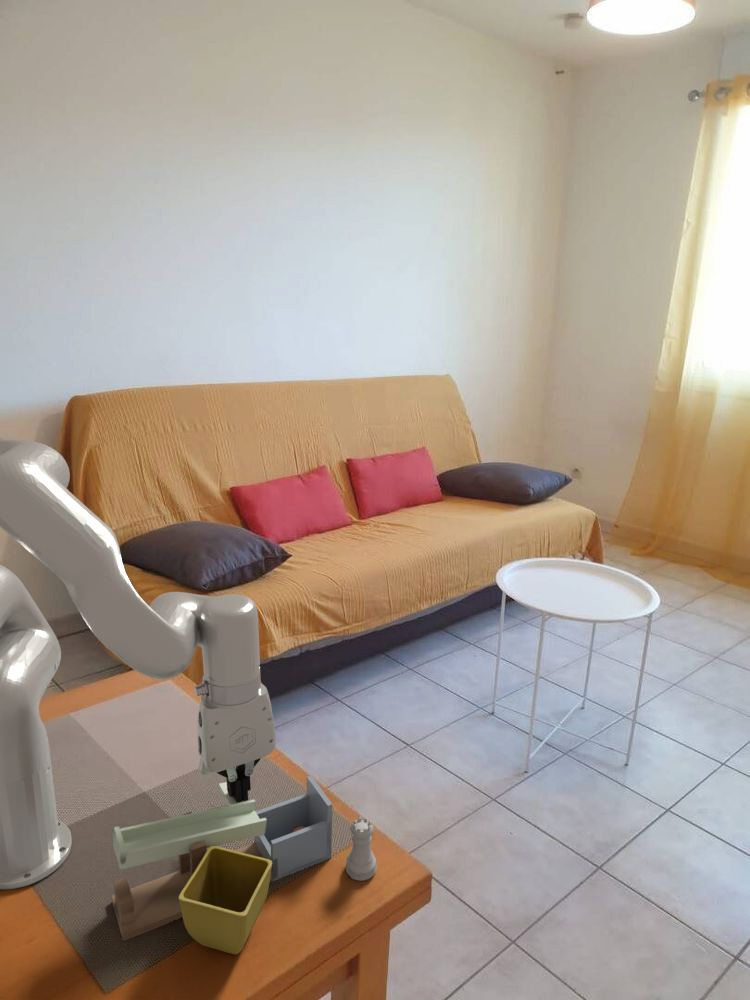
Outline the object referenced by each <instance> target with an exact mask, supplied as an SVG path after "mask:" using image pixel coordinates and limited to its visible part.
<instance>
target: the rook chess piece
mask: <svg viewBox="0 0 750 1000" xmlns="http://www.w3.org/2000/svg"><path fill="white" fill-rule="evenodd" d="M350 832H351V834H352V836H351V840H352V849H351V850H350V852H349V854H348V856H347V858H346V860H345V861H346V862H345V871H346V874H347V875H348V876H349V877H350V878H351V879H353V880H355V881H357V882H358V881H359V882H361V881H362V882H364V881H368V880H369V879H371V878H373V876H375V874H376V873H377V869H378V867H377V859H376V857H375V854H374V852H373V851H372V846H371V845H372V844H371V843H372V841H373V837H372V835H373V834H374V832H375V828H374V825H373V823H372V820H369V819H368V817H364V818H363V819H362V817H358V818H357V819H354V821H353V824H352V825H351V826H350Z"/></svg>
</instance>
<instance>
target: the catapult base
mask: <svg viewBox="0 0 750 1000" xmlns="http://www.w3.org/2000/svg"><path fill="white" fill-rule="evenodd" d="M190 813H193V812H192V811H190V812H186V813H183V814H182V815H185V814H190ZM189 848H190V853H186V854H182V855H178V865H179V870H177V871H174V872H172V873H169V874H167V875H163V876H162V877H159V878H156V879H152V880H150V881H148V882H145V883H142V884H139V885H137V886H134V887H132V888H130V885H129V881H128V879H127V877H123V878H121V879H118V880H115V881H113V890H114V891H113V893H114V894H112V895H111V902H112V906H113V910H114V914H115V916H116V917H115V918H116V920H117V924H118V927H119V932H120V934H121V939H122V942H125V941H128V940H130V939H132V938H135V937H138V936H140V935H142V934H145V933H147V932H150V931H152V930H155V929H157V928H159V927H162V926H165V925H167V924H170V923H172V922H175V921H177V920H179V918H180V919H182V918H183V917H182V912H181V908H180V903H179V899H178V898H179V895H180V893H181V891H182V890H183V889H184V887H185V886H186V884H187V882H188V881H189V879H190V878H191V876H192V875H193V874H194V872H195V870H196V869H197V867H198V865H199V864H200V862H201V860H202V859H203V857H204V855H205V854H206V852H207V850H208V848H207V845H206V842H205V841H203V842H200V843H197V844H194V845H192V846H189ZM232 850H233V851H237V852H241V853H245V854H249V855H253V856H257V857H262V858H263V856H262V855H261V853H260V851H259V849H258V847H257V846H256V844H255V842H252V843H250V844H247V845H245V846H242V847H239V848H236V849H232ZM271 882H274V881H273V875H272V873H271V875H270V882H269V883H271ZM181 917H182V918H181ZM174 920H175V921H174ZM169 922H170V923H169Z"/></svg>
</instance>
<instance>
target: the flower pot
mask: <svg viewBox="0 0 750 1000" xmlns="http://www.w3.org/2000/svg"><path fill="white" fill-rule="evenodd" d="M233 850H234V849H228V848H225V847H221V846H211V847H209V848H207V852H206V854H205V855H204V857H203V859H202V860H201V862H200V864H199V865H198V867H197V869H196V870H195V872H194V874H193V875H192V876H191V878H190V879H189V881H188V882H187V884H186V886H185V887H184V889H183V890H182V891H181V893H180V895H179V898H178V899H179V903H180V908H181V912H182V920H183V924H184V927H185V929H186V931H187V933H188V934H189V936H190V937H191V938H192V939H193V940H194V941H196V943H199V944H200V945H201V946H204V947H206V948H211V949H213V950H217V951H220V952H224V953H228V954H232V955H238V954H239V953H240V952H241V951H242V950H243V949H244V946H245V944H246V943H247V941H248V939H249V935H250V934H251V932H252V929H253V927H254V926H255V923H256V921H257V919H258V918H259V916H260V913H261V912H262V909H263V907H264V905H265V903H266V899H267V896H268V893H269V888H270V887H269V886H270V883H271V882H270V875H271V868H272V861H271V860H269V859H265V858H262V857H257V856H253V855H249V854H245V853H241V852H237V851H233Z"/></svg>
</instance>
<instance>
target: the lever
mask: <svg viewBox="0 0 750 1000" xmlns="http://www.w3.org/2000/svg"><path fill="white" fill-rule="evenodd" d="M217 788H218V790H219V792H220V795H221V796H222V798H223V800H224V801H225V804H226V805H222V806H218V807H213V808H208V809H204V810H199V811H195V812H192V813H190V814H186V813H184V814H185V815H183V814H180V815H175V816H172V817H167V818H163V819H158V820H153V821H148V822H144V823H140V824H136V825H135V824H134V825H132V826H127V827H122V828H120V826H114V827H113V835H112V847H113V850H114V854H115V858H116V860H117V861H116V862H117V864H118V867H119V870H120V871H121V870H125V869H130V868H133V867H137V866H141V865H142V866H143V865H145V864H149V863H153V862H158V861H161V860H165V859H169V858H170V859H171V858H174V857H177V856H178V857H179V855H182V854H186V853H190V848H189V846H192V845H194V844H197V843H200V842H203V841H205V842H206V845H207V849H209V847H211V846H217V847H219V846H222V845H226V844H229V843H233V842H238V841H241V840H242V841H243V840H246V839H250V838H254V837H255V836H259V835H263V834H265V829H266V822H267V820H266V818H262V819H260V818H259V817H258V815H257V813H256V812H255V811H256V799H255V798H254V799H250V800H249V799H248V801H243V800H242V802H240V803H237V802H236V801H235V799H234V797H233V796H232V797H230V796H229V794H228V791H227V781H225V782H219V783H218V787H217Z"/></svg>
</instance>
